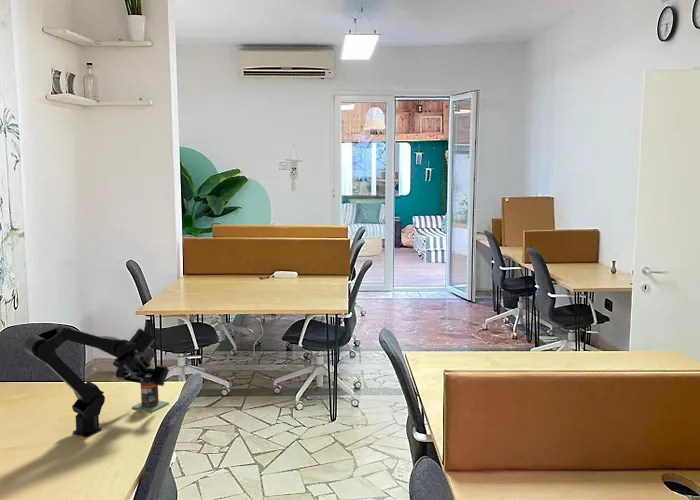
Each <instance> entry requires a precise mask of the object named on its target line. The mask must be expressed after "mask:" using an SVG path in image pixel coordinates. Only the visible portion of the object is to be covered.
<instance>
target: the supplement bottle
mask: <svg viewBox="0 0 700 500" xmlns="http://www.w3.org/2000/svg"><path fill="white" fill-rule="evenodd" d="M141 380H142V381H141V383H140V401H141V402H140V403H142V406H144V407H153V406H156V405H157V404H158V403H159V400H160V399H159V385H155V384H153V383H152V382H151V376H150V375H146V376H144V378H143V379H141Z"/></svg>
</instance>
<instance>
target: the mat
mask: <svg viewBox="0 0 700 500" xmlns="http://www.w3.org/2000/svg"><path fill="white" fill-rule="evenodd" d="M167 404H168V405H169V404H170V402H169V401H164V400H160V399H159V403H158V404H157V405H156V406H153V407H144V406H142V403H141V402H139V403H136V404H134V405H133V406H131V409H132V410H133V409H134V410H139V411H143V412H147V413H151V414H152V413H154V412H156V411H158V410H161V408H164V407H166V406H168V405H167ZM165 405H166V406H165ZM163 406H164V407H163Z"/></svg>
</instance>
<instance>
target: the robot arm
mask: <svg viewBox="0 0 700 500" xmlns="http://www.w3.org/2000/svg"><path fill="white" fill-rule="evenodd" d="M155 340H156V338H155V337H153V335H152V334H149V333H148V332H146V331H145V330H144V329H142V328H138V329H137V330H136V332H135V334H134V335H133V336H132V337H131V338H130V339H129V340H128V339H120V338H118V337H115V336H105V335H101V336H100V335H95V334H91V333H89V332H85V331H81V330H77V329H74V328H71V327H68V326H66V325H58V326H56V327H54V328H52V329H49V330H47V331H43V332H41V333H39V334H36V335H32V336H29V337H27V338H26V339H25V340H24V344H23V349H24V351H25V352H26V353H27V354H29V355H31V356H32V357H34V358H35V359H37V360H39V361H40V362H42V363H44V364H45V365H46V366H48V368H49V369H51V370H52V372H53V373H55V374H56V375H57V376H58V377H59V378H60V379H61V380H62V382H64V383H65V384H66V385H68V386H69V388H70V389H72V391H73V393H74V394H75V397H76V401H74V403H73V405H72V406H71V408H72V411H73V412H74V413H76V415H75V430H73V431H72V434H74V435H79V436H83V437H85V438H86V437H90V436H91V435H94V434H96V433H98V432H100V431H103V428H102V427H100V421H99V420H100V419H99V418H100V414H101V411H102V408H103V406H104V404H105V400H106V397H105V395H104V393H105V392H104V391H102V390H101V389H100V388H99V386H98V385H97V384H95V383H94V382H92V381H89V380H87V381H86V382H85V381H84V380H83V379H82V378H80V376H78V375H77V373H76V372H75V371H74V370H72V368H71V367H69V366H68V364H67V363H66V362H64V361H63V359H62V358H60V357H59V355H58V353H57V351H56V349H58V348H59V347H60V346H62V345H63V344H64V343H65V342H67V341H70V342H72V343H76V344H77V343H78V344H81V345H85V346H88V347H90V348H95V349H98V350H99V351H102V352H103V353H105V354H108V355H111V356H113V357H115V358H114V361H113V362H112V366H114V367H116V368H117V369H116V371H115V373H114V374H115V378H116V379H117V380H121V381H125V382H126V381H127V382H132V383H138V384H141V381H142V380H143V378H144V376H146V375H150V376H151V382H152V383H153V384H155V385H158V387H159V386H161V387H164V386H165V381H166V378H167V377H168V374H169V372H170V369H169V368H168V367H167V366H166V365H155V368H151V365H152V363H151V362H152V360H153V359H154V358H155V357H156V354H155V351H154V348H153V347H151V346H152V344H153V343H154V342H155Z"/></svg>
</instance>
